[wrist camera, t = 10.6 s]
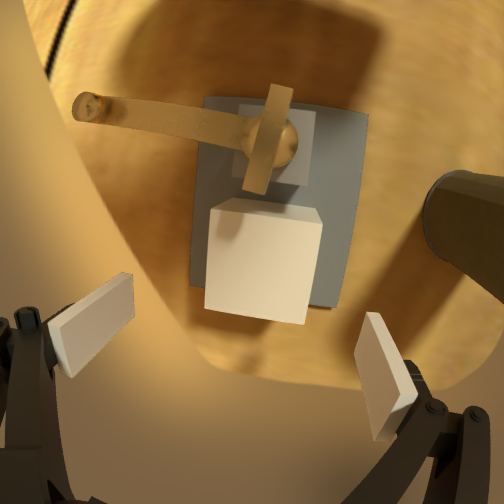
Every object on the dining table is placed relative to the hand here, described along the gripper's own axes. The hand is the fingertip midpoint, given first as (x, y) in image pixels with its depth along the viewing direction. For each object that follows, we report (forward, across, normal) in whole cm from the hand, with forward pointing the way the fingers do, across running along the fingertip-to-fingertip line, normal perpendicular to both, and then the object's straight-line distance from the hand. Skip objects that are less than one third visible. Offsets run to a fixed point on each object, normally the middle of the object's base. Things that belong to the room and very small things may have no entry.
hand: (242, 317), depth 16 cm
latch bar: (+5, -6, +10) cm, 13 cm away
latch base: (+16, 0, +4) cm, 16 cm away
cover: (+15, 0, 0) cm, 15 cm away
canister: (+16, +21, +6) cm, 27 cm away
